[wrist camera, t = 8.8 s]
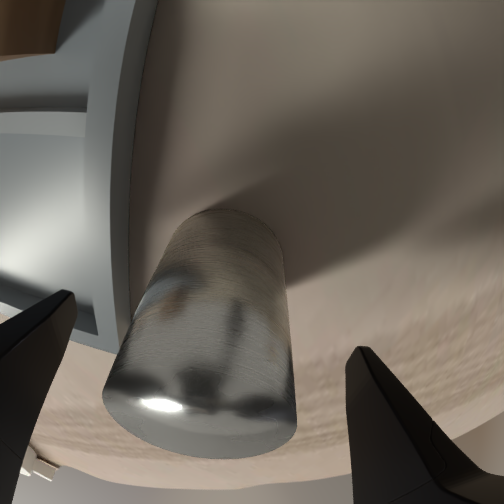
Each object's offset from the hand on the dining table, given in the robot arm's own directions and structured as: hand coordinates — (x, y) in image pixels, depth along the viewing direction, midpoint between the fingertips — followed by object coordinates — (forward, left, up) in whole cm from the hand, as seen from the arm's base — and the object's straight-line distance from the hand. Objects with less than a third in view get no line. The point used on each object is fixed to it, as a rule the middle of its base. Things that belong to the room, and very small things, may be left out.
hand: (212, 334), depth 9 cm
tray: (+10, -5, -4) cm, 12 cm away
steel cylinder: (0, 0, -4) cm, 4 cm away
